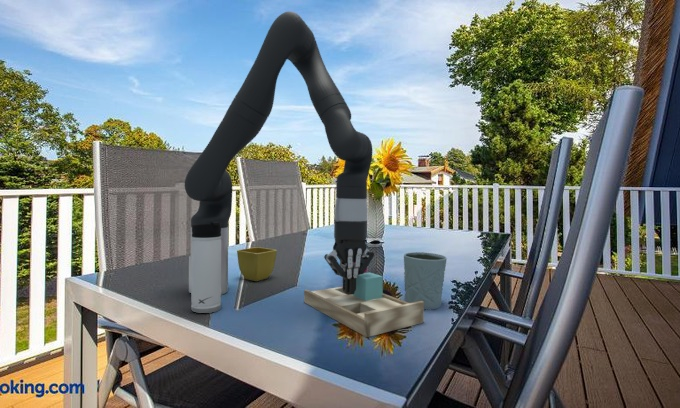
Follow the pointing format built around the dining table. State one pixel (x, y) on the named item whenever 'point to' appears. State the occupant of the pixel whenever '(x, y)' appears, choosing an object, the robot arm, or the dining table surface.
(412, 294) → the grey green cup
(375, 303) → the tray
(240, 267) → the flower pot
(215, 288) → the travel mug
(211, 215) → the robot arm
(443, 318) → the dining table surface
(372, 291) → the teal block
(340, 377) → the dining table surface
